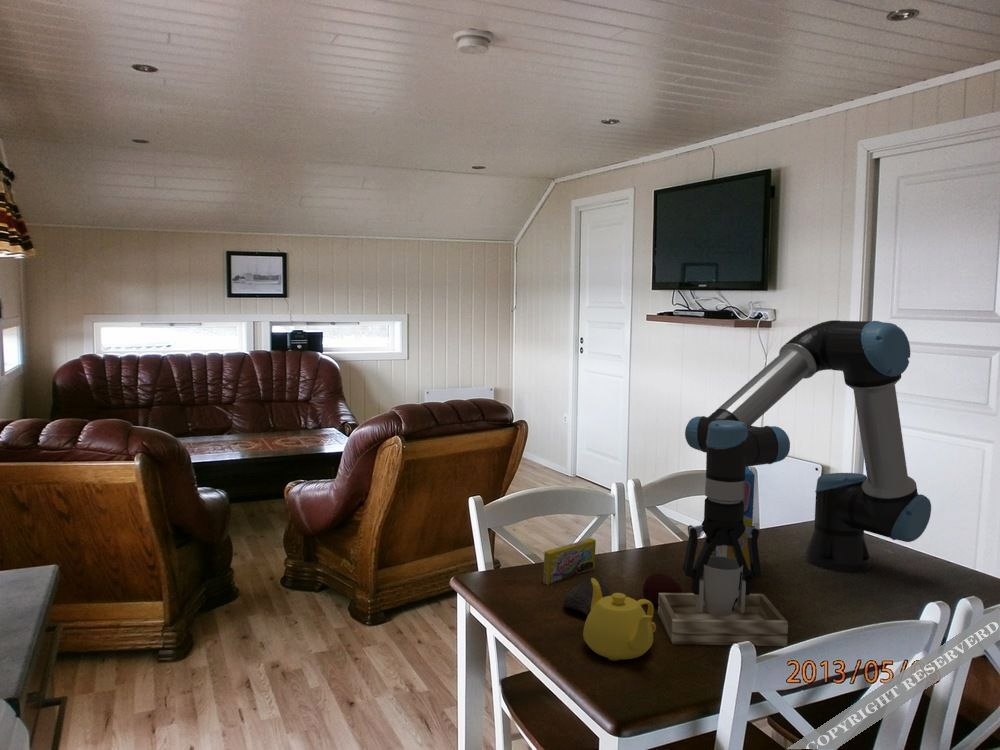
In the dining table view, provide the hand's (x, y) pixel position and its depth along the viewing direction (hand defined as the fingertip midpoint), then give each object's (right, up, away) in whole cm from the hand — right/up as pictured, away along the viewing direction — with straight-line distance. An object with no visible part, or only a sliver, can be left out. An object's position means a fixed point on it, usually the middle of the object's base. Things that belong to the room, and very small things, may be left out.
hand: (719, 609), depth 150 cm
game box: (+12, -1, +32) cm, 35 cm away
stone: (-28, -4, +11) cm, 31 cm away
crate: (0, -4, +1) cm, 4 cm away
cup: (0, 0, 0) cm, 0 cm away
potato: (-9, -3, +14) cm, 16 cm away
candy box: (-28, -2, +29) cm, 40 cm away
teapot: (-21, -5, -9) cm, 24 cm away
